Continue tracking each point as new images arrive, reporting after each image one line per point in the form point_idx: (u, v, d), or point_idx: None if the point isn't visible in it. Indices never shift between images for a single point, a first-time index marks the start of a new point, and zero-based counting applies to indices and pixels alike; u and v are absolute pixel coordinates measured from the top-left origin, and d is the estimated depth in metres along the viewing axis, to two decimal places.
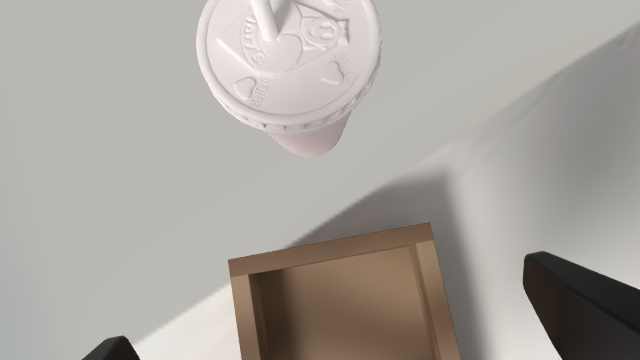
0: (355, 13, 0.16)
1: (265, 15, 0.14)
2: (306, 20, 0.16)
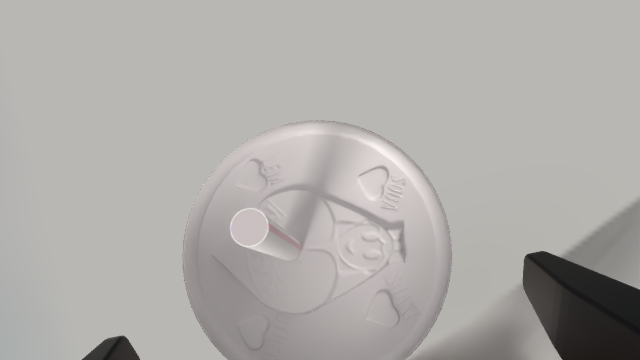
0: (412, 213, 0.11)
1: (284, 256, 0.09)
2: (342, 228, 0.11)
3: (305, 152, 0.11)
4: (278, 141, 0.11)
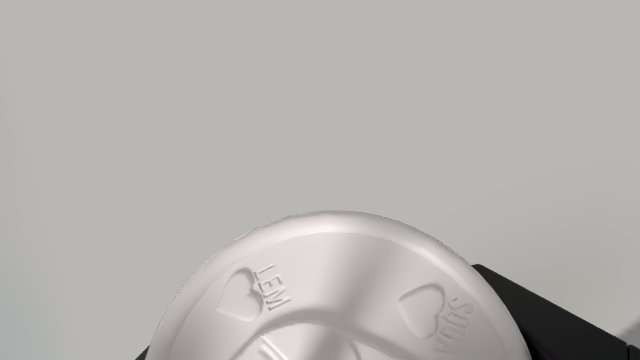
0: (482, 359, 0.07)
1: None
2: None
3: (319, 259, 0.08)
4: (279, 242, 0.08)
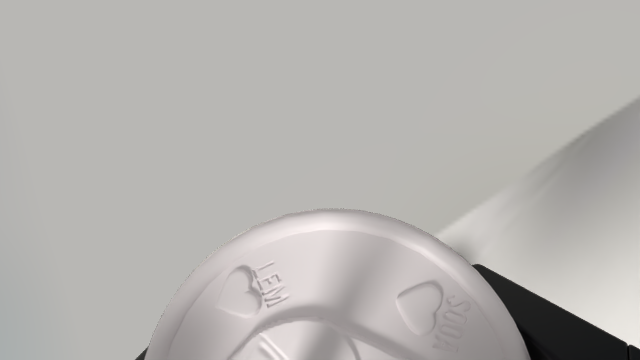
0: (480, 356, 0.07)
1: None
2: None
3: (317, 257, 0.08)
4: (278, 240, 0.08)
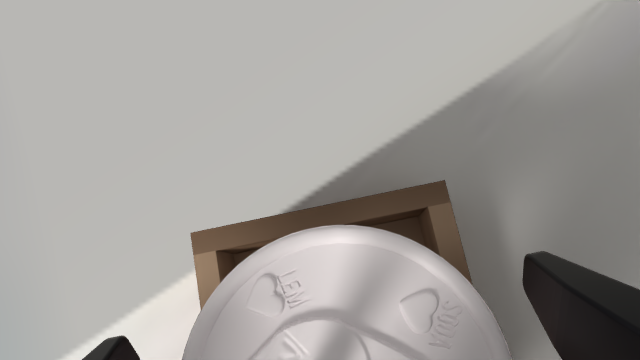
0: (469, 353, 0.09)
1: None
2: None
3: (333, 266, 0.09)
4: (299, 251, 0.09)
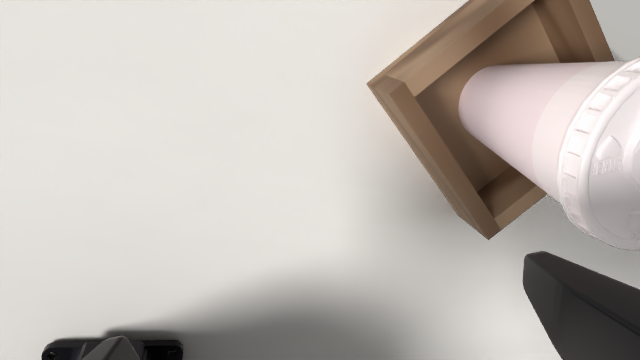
0: None
1: None
2: None
3: None
4: None
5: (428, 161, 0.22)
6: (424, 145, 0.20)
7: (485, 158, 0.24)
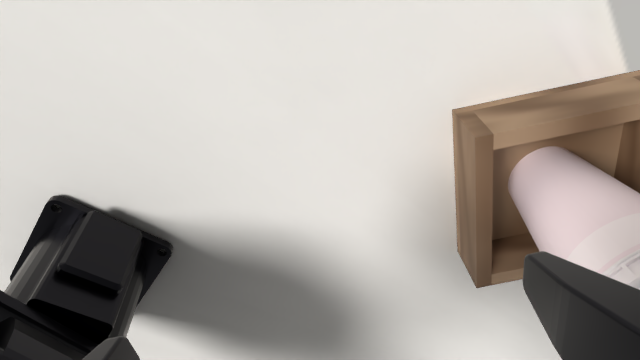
0: None
1: None
2: None
3: None
4: None
5: (466, 202, 0.23)
6: (475, 192, 0.21)
7: (508, 218, 0.26)
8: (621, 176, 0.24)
